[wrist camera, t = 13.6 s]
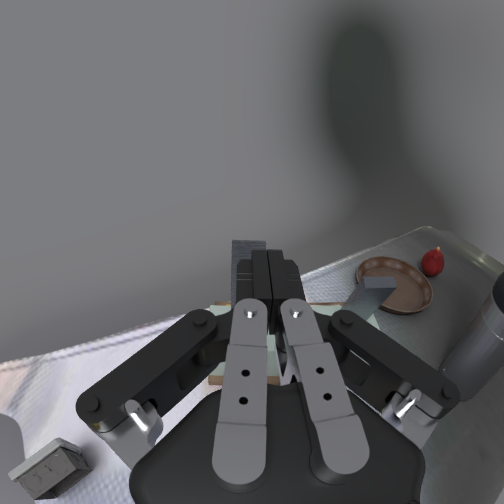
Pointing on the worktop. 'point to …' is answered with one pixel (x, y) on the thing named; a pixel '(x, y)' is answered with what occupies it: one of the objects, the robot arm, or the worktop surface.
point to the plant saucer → (399, 284)
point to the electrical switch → (51, 470)
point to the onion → (433, 262)
